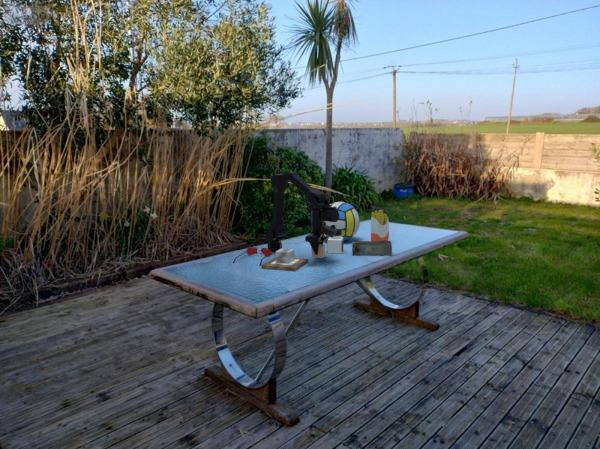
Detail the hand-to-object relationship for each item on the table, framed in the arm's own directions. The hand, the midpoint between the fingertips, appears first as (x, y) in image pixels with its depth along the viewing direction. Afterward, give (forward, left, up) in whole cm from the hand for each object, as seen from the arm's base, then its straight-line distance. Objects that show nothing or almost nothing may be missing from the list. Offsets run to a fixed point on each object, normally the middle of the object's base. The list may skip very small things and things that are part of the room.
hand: (318, 253), depth 196 cm
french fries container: (+21, +44, -4) cm, 49 cm away
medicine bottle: (+3, +19, -4) cm, 20 cm away
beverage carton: (+21, +20, -4) cm, 29 cm away
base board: (-12, -11, -4) cm, 17 cm away
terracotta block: (0, 0, -1) cm, 1 cm away
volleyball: (-2, +46, -4) cm, 46 cm away
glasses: (-30, -7, -4) cm, 31 cm away
